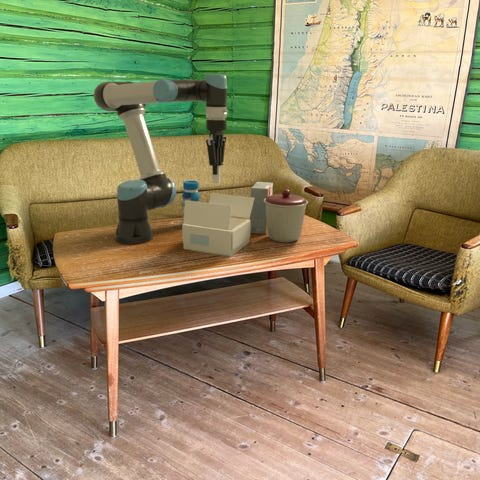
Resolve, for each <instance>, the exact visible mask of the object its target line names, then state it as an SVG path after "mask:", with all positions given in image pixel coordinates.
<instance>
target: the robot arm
mask: <svg viewBox="0 0 480 480" xmlns="http://www.w3.org/2000/svg"><path fill="white" fill-rule="evenodd" d="M227 83H228V81H227V76H226V75H225V74H221V73H220V74H219V73H217V74H215V73H209V74H206V75H205V79H191V78H190V79H170V78H163V79H159V80H151V81H143V82H134V81H133V82H132V81H104V82H101V83H99V84H98V85H97V86H96V87H95V89H94V91H93V100H94V103H95V104H96V106H98V108H100V109H102V110H103V111H106V112H116V113H117V114H116V115H117V116H118V118H119V119H120V120H122V121H123V123H124V127H125V130H126V132H127V133H126V134H127V136H128V139H129V142H130V146H131V148H132V149H131V150H132V152H133V155H134V158H135V161H136V165H137V167H138V171H139V173H140V177H139V178H138V179H133V180H132V179H131V180H127V181H123V182H120V183H119V185H117V187H116V198H117V209H118V210H117V213H118V224H117V227H116V230H115V235H114V236H115V241H117V242H118V243H120V244H127V245H128V244H129V245H130V244H131V245H134V244H144V243H147V242H149V241H150V242H151V241H152V240H153V238H154V232H153V230H152V227H151V224H150V222H149V216H148V214H149V213H148V211H152V210H156V209H160V208H165V207H167V206H170V205H171V204H172V203H174V201H175V198H176V196H177V187H176V184H175V182H174V181H173V180H172V178H168V177H167V174H166V172H164V171H163V170H161V167H160V164H159V161H158V157H157V154H156V151H155V147H154V146H153V141H152V138H151V136H150V132H149V129H148V127H147V126H148V125H147V123H146V120H145V116H144V115H145V113H146V107H147V105H148V104H158V103H159V104H160V103H177V102H205V118H206V121H205V129H206V131H209V135H208V136H209V138H208V139H206V140H205V143H206V144H205V145H206V147H207V148H206V149H207V154H208V155H207V156H208V157H207V158H208V164H209V166H210V167H211V168H212V173H211V175H212V177H211V178H212V184H221V175H222V174H221V171H222V170H221V166H224V161H225V160H224V159H225V149H226V143H227V136H224V131H226V130H227V124H228V123H227V122H228V121H227V117H228V115H227V114H228V109H227V102H228V101H227V100H228V99H227V97H228V95H227V94H228V84H227Z"/></svg>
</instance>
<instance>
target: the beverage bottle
mask: <svg viewBox="0 0 480 480" xmlns="http://www.w3.org/2000/svg"><path fill="white" fill-rule="evenodd" d="M182 184H183V185H182V188H183V189H182V190H183V193H182V195H181V199H182V201H181V210H182V213H181V214H182V220H183V219H184V207H185V200H188V201H196V202H201V194H200V192H199V191H198V190H199V187H200V185H199V181H197V180H184V181H183V183H182Z"/></svg>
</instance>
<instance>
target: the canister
mask: <svg viewBox="0 0 480 480" xmlns="http://www.w3.org/2000/svg"><path fill="white" fill-rule="evenodd" d="M291 193H292V192H291V191H290V190H289V189H287V188H286V189H282V190H281V193H274V194H272V195H271V196H268V197H267V198H265V199H264V202H265V207H266V220H267V235H268V238H269V239H270V240H272V241H275V242H279V243H292V242H296V241H298V240H299V239H300V237H301V235H302V230H303V226H304V220H305V214H306V208H307V205H308V204H309V201H308V200H307V199H306V198H305V197H303V196H301V195H298V194H291Z"/></svg>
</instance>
